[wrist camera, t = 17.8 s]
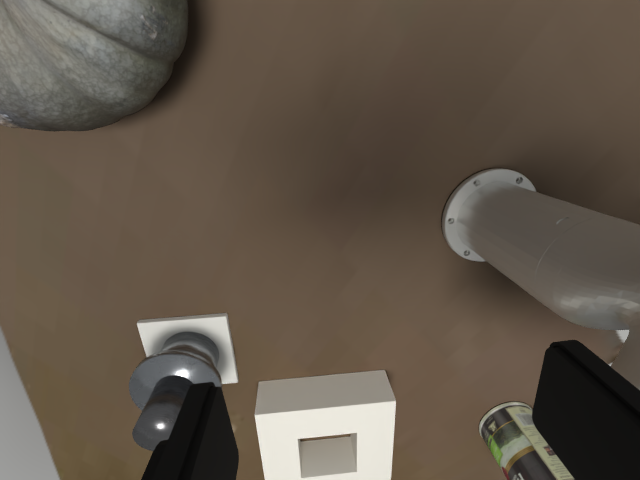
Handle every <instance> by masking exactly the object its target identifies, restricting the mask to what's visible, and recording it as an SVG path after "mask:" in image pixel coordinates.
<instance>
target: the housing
mask: <svg viewBox="0 0 640 480" xmlns="http://www.w3.org/2000/svg"><path fill="white" fill-rule="evenodd" d="M395 408H396V400H395V397H394V394H393V391H392V389H391V386H390V383H389V380H388V378H387V375H386V372H385V370H377V371H367V372H356V373H345V374H334V375H324V376H313V377H302V378H291V379H281V380H270V381H259V384H258V392H257V401H256V409H255V420H256V426H257V433H258V439H259V445H260V451H261V458H262V464H263V470H264V477H265V480H391V470H392V454H393V439H394V424H395ZM340 434H350V437H341V438H331V439H322V440H312V441H303V442H300V439H302V438H311V437H321V436H331V435H340Z"/></svg>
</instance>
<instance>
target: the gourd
mask: <svg viewBox="0 0 640 480" xmlns="http://www.w3.org/2000/svg"><path fill="white" fill-rule="evenodd" d="M187 31H188V3H187V0H0V125H3V126H6V127H11V128H18V127H19V128H27V129H35V130H44V131H67V130H68V131H86V130H93V129H96V128H100V127H103V126H107V125H109V124H112V123H115V122H117V121H119V120H120V119H122V118H123V117H125V116H127V115H130V114H133V113H135V112H137V111H139V110H141V109H142V108H144V107H145V106H147V105H148V104H149V103H150V102H151V101H152V100H153V99H154V97H155V95H156V94H157V92H158V91H159V90H160V89H161V88H162V87H163V86H164V85H165V83H166V82H167V81H168V80H169V78H170V76H171V74H172V70H173V63H174V62H175V61H176V60H177V59H178V58H179V57H180V55H181V53H182V51H183V49H184V47H185V43H186V39H187Z"/></svg>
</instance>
